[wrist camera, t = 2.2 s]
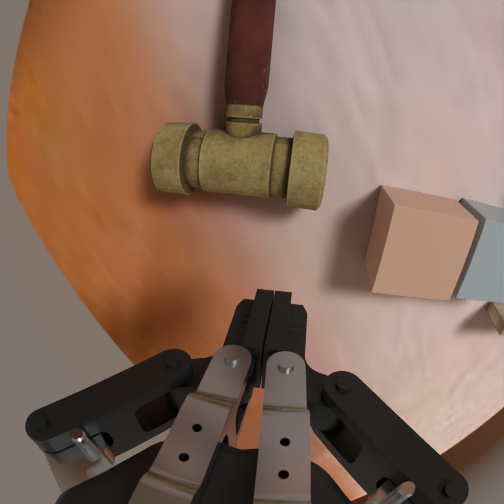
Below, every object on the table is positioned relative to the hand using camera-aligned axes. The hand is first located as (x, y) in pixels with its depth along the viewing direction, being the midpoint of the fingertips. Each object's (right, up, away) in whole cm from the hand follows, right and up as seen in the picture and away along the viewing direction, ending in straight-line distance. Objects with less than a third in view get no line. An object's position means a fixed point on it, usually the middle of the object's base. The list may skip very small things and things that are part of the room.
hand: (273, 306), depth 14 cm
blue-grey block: (+17, +3, +6) cm, 18 cm away
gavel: (-1, +16, +3) cm, 16 cm away
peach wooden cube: (+10, +4, +7) cm, 13 cm away
